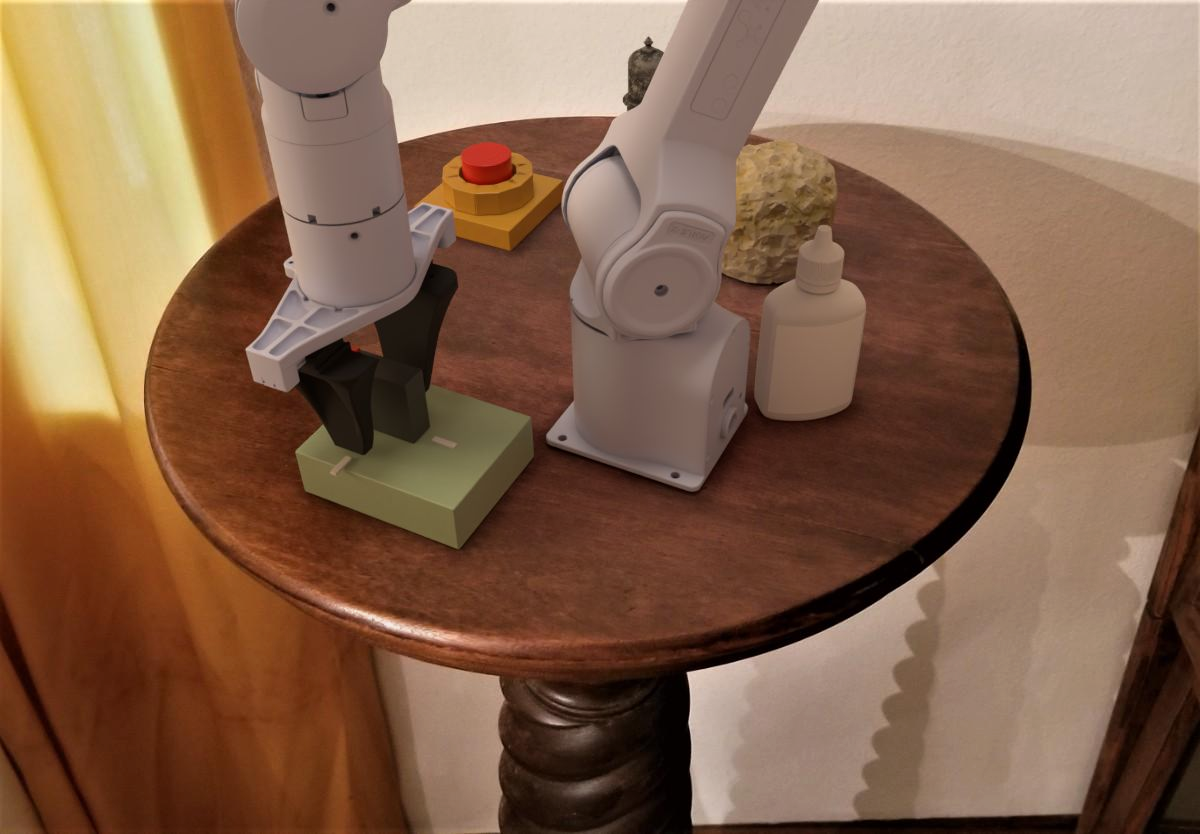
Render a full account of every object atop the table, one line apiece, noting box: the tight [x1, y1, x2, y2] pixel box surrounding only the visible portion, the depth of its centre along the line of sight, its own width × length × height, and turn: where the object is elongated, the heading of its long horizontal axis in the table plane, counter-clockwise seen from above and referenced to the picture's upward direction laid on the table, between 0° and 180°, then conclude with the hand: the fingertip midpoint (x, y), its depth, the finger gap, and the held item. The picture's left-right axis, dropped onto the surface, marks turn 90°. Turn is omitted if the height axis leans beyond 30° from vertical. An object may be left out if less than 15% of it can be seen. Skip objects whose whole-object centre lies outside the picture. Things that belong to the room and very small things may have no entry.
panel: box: [295, 373, 535, 550], centre depth 63 cm, size 12×9×3 cm
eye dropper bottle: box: [753, 225, 867, 422], centre depth 64 cm, size 4×6×12 cm
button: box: [460, 142, 513, 185], centre depth 83 cm, size 4×4×2 cm
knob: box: [351, 344, 430, 444], centre depth 61 cm, size 5×2×4 cm, turn 63°
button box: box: [413, 151, 564, 252], centre depth 84 cm, size 8×8×4 cm
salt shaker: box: [622, 36, 665, 112], centre depth 84 cm, size 6×6×12 cm
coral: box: [722, 138, 839, 285], centre depth 78 cm, size 9×9×8 cm
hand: (383, 415), depth 62 cm, fingers open, 5 cm apart
